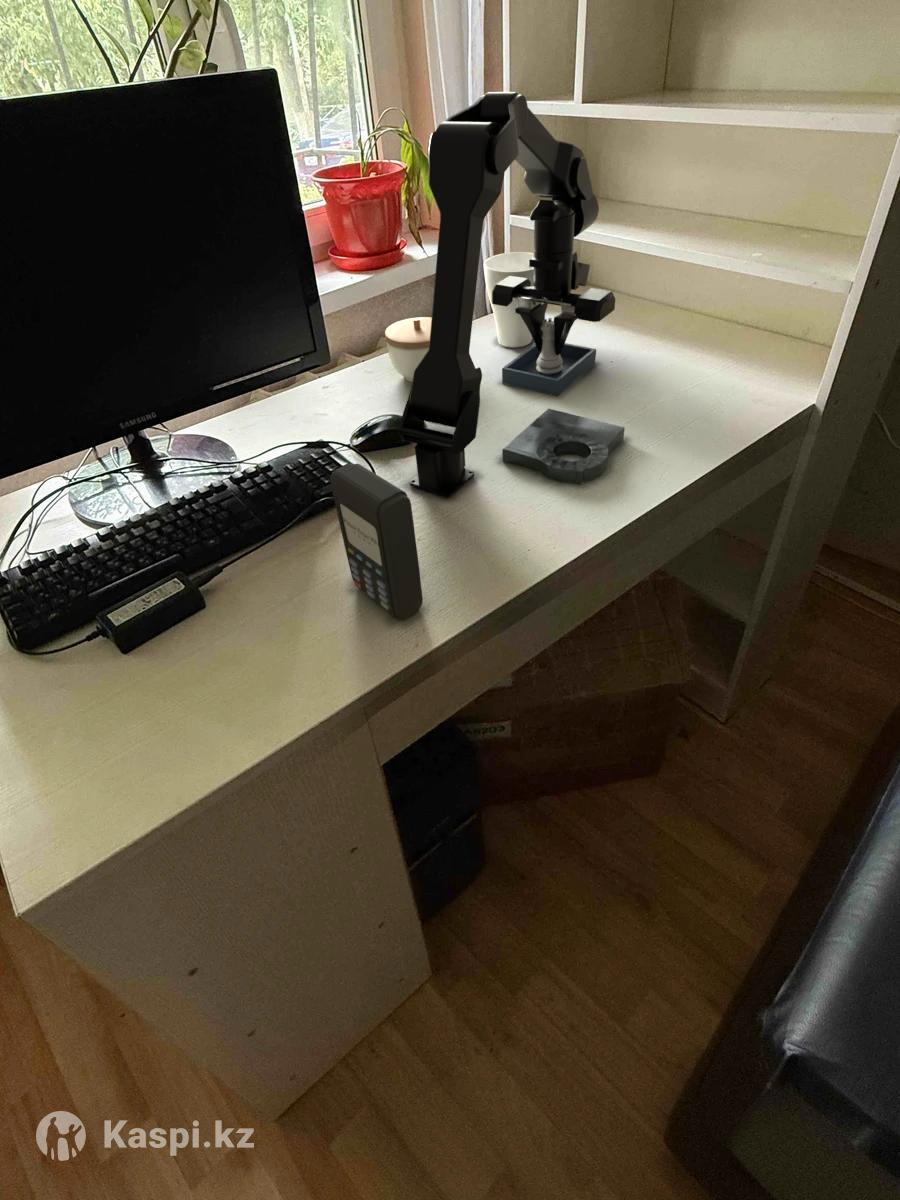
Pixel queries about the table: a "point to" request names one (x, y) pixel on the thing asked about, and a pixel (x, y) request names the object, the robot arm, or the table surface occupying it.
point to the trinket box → (408, 344)
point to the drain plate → (564, 446)
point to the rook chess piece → (548, 351)
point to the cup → (506, 319)
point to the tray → (528, 377)
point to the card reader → (378, 538)
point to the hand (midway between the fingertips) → (549, 352)
